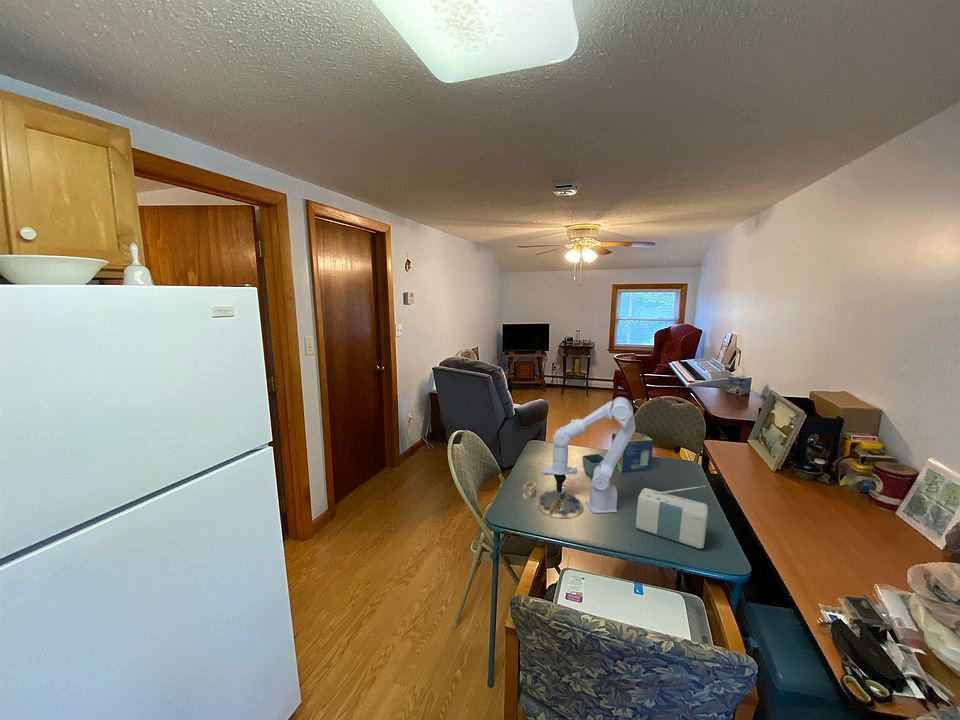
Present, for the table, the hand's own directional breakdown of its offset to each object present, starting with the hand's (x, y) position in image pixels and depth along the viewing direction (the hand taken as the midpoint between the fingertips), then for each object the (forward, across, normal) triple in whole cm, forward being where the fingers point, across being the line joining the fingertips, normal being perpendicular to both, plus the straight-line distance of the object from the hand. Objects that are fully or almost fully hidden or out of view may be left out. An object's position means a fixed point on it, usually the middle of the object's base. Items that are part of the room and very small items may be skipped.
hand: (558, 491), depth 156 cm
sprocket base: (+4, +1, +4) cm, 6 cm away
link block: (+4, +11, -4) cm, 12 cm away
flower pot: (+4, -22, -17) cm, 28 cm away
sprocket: (+4, +1, +4) cm, 6 cm away
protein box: (+4, -43, -25) cm, 50 cm away
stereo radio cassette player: (+4, -31, +26) cm, 41 cm away
